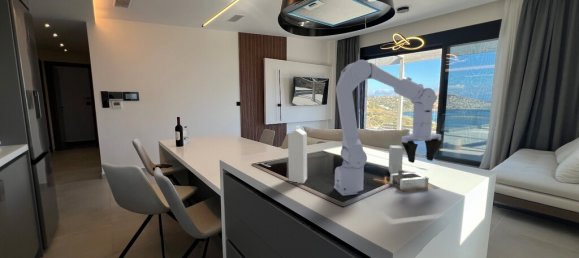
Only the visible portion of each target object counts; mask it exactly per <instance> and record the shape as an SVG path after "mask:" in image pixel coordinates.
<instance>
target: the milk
mask: <svg viewBox="0 0 579 258" xmlns="http://www.w3.org/2000/svg"><path fill="white" fill-rule="evenodd" d="M294 128H295V130H294V131H292V132H290V133H288V134H287V142H288V143H287V145H288V146H287V147H288V148H287V149H288V182H289V181H294V182H297V183H296V184H304V183H305V182H306V181H307V180H308V135H307V134H308V133H307V132H306V131H305V130H303V129H301V127H300V124H298V125H295V127H294Z"/></svg>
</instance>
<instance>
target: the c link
mask: <svg viewBox="0 0 579 258" xmlns="http://www.w3.org/2000/svg"><path fill="white" fill-rule="evenodd" d="M389 175H390V176H389V183H390V184H392V185H395V184H398V173H397V174H390V173H389ZM429 178H430V177H428V176H425V175H423V174H421V173H418V172H415V171H412V172H411V171H410V172H403V174H402V179H400V189H401V190H402V191H403V190H413V189H423V188H428V183H429V181H430V180H429ZM390 184H389V185H390ZM392 185H391V186H392ZM401 190H400V191H401ZM402 191H401V192H402Z"/></svg>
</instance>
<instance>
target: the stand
mask: <svg viewBox="0 0 579 258" xmlns="http://www.w3.org/2000/svg"><path fill="white" fill-rule="evenodd" d="M403 171H404V170H403V169H402V170H398V184H395V185H392V184H390V182H387V184H388V185H390V186H391V187H393V188H395V189H397V190H398V191H401V192H403V193H404V192H407V193H408V192H415V191H416V192H417V191H425V190H434V189H436V190H437V189H440V187H439V186H436V185H434V184H432V183H430V182H428V188H423V189H413V190H403V191H402V190H401V189H400V179H402V174H403V173H404V172H403Z"/></svg>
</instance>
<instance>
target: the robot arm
mask: <svg viewBox="0 0 579 258" xmlns="http://www.w3.org/2000/svg"><path fill="white" fill-rule="evenodd" d="M412 79H413V78H411V77H401V78H398V77H397V76H395V75H393V74H391V73H390V72H388V71H386V70H384V69H383V68H381V67H379V66H377V65H376V64H374V63H372V62H368V61H367V60H365V59H358V60H356V61H354V62H352V63H349V64H347V65H346V66H344V68H343V69H342V70H341V72H340V76H339V79H338V81H337V84H336V86H335V92H336V93H335V94H336V102H337V106H338V114H339V119H340V124H341V125H340V127H341V132H342V141H341V150H340V157H341V159H342V163H341V164H342V165H340V166H337V167H335V169H334V186H333V189H335V190H336V191H337V192H338V193H339V194H340V195H341V196H351V195H361V193H360V192H361V191H363V190H364V174H365V172H364V169H365V164H367V160H368V156H367V153H366V151H365V150H364V148H363V144H362V142H361V139H360V137H359V131H358V124H357V123H358V122H357V118H356V117H357V116H356V115H357V114H356V109H355V103H354V95H353V92H354V91H355V89H356V88H357V86H359V84H361V83H362V82H364V81H366V80H375V81H377V82H379V83H381V84H384V85H386V86H388V87H391V88H393V90H394V93H395V94H397V95H399V96H402V97H404V98H406V99H407V100H410V103H412V105H413V111H412V113H413V114H412V115H413V116H412V119H413V120H412V134H410V135H409V134H408V135H403V136H401V144H402V146H403V149H404V150H405V152H406V153H405V154H406V156H407V160H408V162H409V163H415V162H416V161H415V160H416V152H417V148H418V143H416V142H424V143H425V144H424V145H425V149H426V155H425V156H426V160H427V161H430V162H432V161H434V158H435V155H436V153H437V150H438V149H439V148H440V146H441V145H442V141H441V140H442V134H439V133H432V125H433V124H432V123H433V109H434V105H435V103H436V102H437V100H438V95H436V92H435V90H434V89H433V88H431V87H424V84H422V83H420V84H419V83H417V82H415V81H413V80H412Z"/></svg>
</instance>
